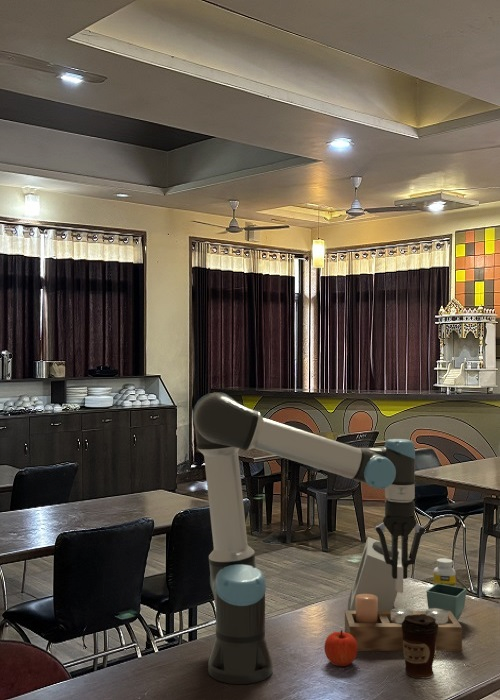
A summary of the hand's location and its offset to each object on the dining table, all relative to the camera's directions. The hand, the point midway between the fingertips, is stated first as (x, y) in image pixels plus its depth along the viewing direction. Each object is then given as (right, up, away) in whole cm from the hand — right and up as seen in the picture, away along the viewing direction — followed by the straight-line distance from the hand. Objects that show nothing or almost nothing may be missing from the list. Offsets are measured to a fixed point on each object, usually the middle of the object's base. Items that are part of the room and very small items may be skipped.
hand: (399, 590), depth 203 cm
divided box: (+1, -13, 0) cm, 13 cm away
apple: (-17, -14, -14) cm, 25 cm away
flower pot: (+16, -13, +15) cm, 25 cm away
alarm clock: (-3, -13, +22) cm, 26 cm away
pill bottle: (+20, -13, +35) cm, 42 cm away
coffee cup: (+1, -14, -20) cm, 24 cm away
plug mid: (+1, -12, 0) cm, 12 cm away
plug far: (+10, -12, 0) cm, 16 cm away
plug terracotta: (-8, -9, 0) cm, 12 cm away
